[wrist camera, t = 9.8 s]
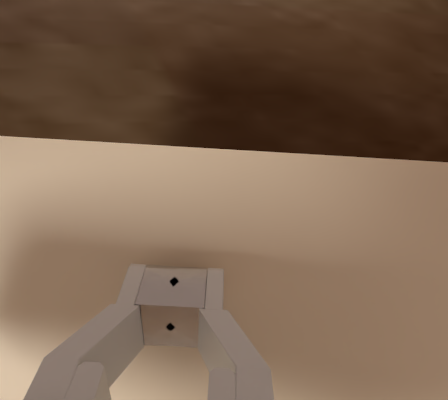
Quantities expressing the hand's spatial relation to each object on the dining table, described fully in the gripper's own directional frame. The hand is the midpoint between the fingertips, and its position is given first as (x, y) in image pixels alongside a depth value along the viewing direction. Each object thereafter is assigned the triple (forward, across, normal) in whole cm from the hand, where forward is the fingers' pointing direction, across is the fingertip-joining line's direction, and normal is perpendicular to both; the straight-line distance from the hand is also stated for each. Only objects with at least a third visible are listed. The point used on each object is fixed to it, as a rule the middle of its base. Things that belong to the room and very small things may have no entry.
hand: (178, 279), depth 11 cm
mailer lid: (-1, 0, +3) cm, 4 cm away
